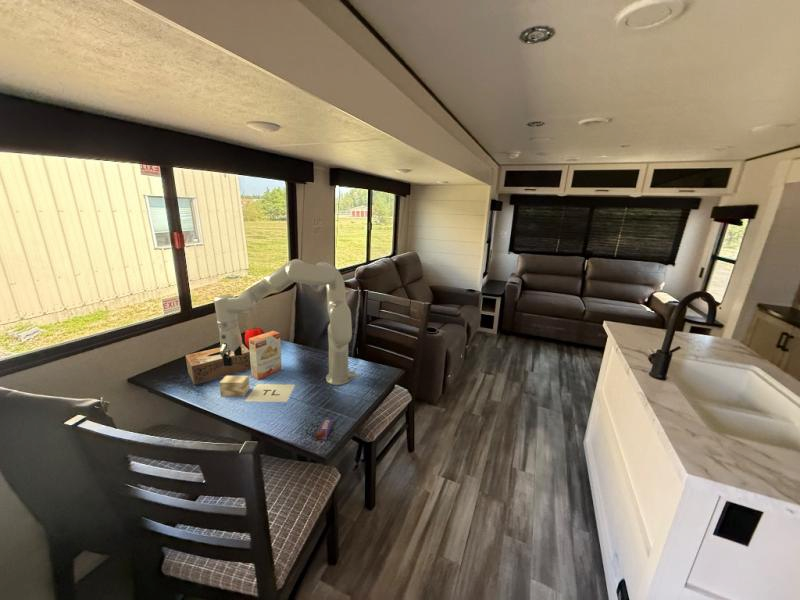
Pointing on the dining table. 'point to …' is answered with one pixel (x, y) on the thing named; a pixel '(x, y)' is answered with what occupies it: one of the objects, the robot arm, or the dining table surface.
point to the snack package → (324, 429)
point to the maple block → (234, 385)
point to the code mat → (270, 393)
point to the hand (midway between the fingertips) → (233, 360)
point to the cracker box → (265, 354)
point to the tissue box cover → (215, 364)
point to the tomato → (252, 334)
